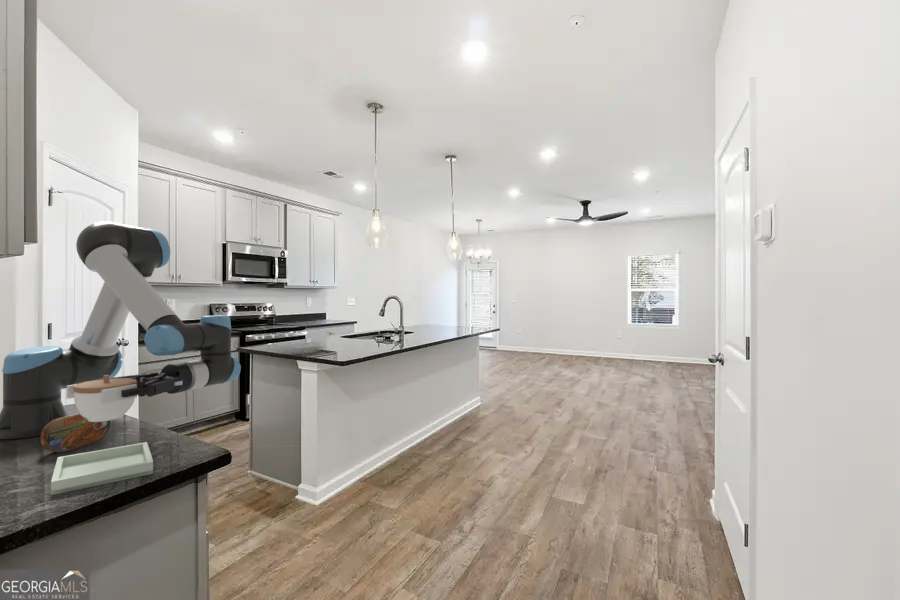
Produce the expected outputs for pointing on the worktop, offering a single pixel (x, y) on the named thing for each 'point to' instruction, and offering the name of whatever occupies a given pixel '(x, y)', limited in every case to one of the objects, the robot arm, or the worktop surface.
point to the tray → (101, 467)
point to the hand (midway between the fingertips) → (84, 394)
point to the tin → (71, 433)
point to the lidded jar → (90, 399)
